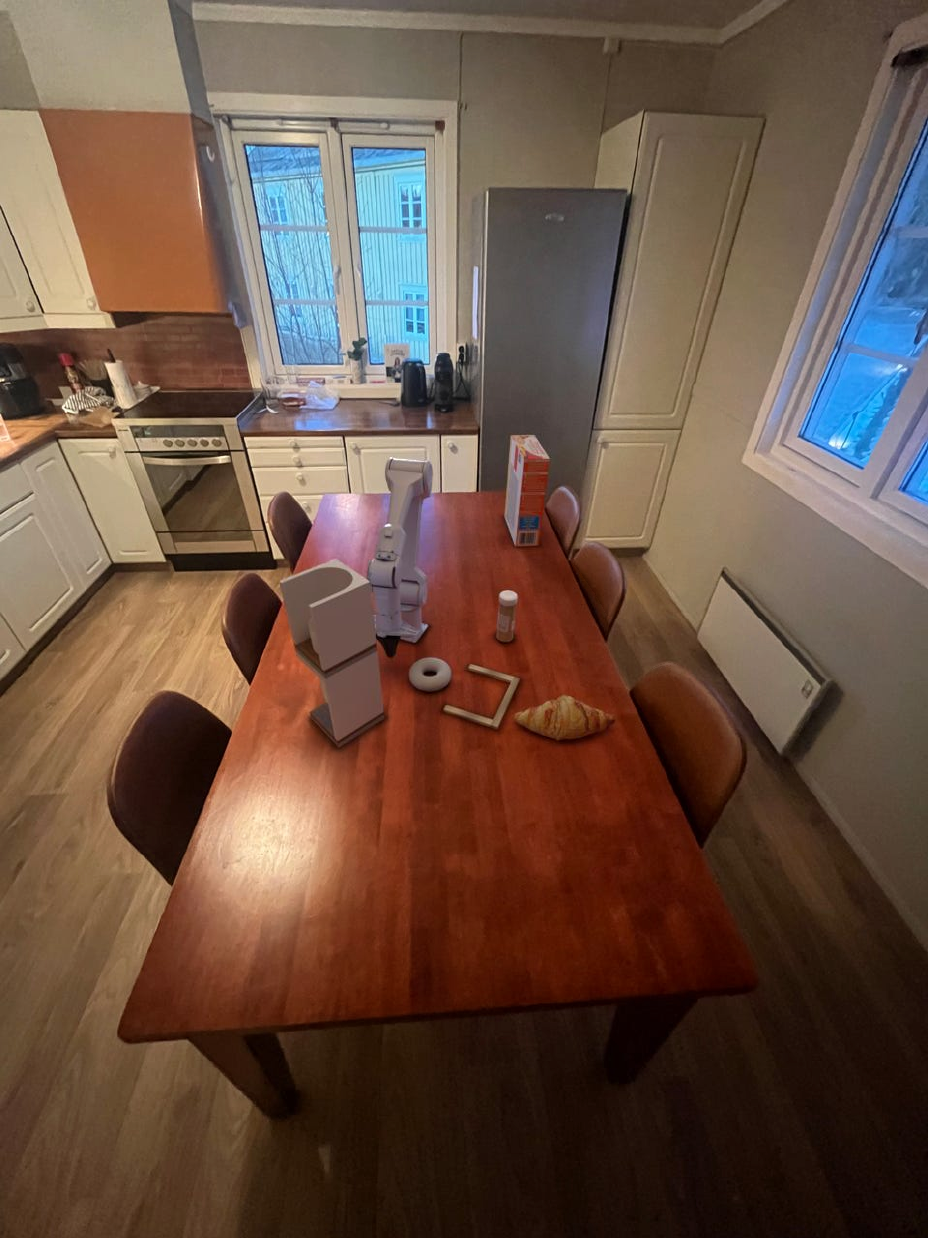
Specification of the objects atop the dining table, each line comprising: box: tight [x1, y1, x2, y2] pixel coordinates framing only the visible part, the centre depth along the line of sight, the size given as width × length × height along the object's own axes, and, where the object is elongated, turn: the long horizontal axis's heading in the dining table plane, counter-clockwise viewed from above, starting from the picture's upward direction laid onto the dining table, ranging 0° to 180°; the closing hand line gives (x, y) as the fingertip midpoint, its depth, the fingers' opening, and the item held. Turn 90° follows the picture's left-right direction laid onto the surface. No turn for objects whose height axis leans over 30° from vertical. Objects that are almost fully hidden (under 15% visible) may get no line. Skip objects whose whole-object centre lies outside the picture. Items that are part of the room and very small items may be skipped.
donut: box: [408, 657, 452, 692], centre depth 117 cm, size 10×4×10 cm
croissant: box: [514, 694, 616, 742], centre depth 106 cm, size 21×10×8 cm, turn 90°
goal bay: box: [442, 663, 521, 730], centre depth 114 cm, size 12×16×1 cm
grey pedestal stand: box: [278, 558, 385, 748], centre depth 97 cm, size 11×11×35 cm
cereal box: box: [503, 434, 551, 547], centre depth 170 cm, size 23×8×30 cm, turn 6°
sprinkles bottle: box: [495, 589, 519, 643], centre depth 127 cm, size 5×5×13 cm
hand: (391, 655), depth 118 cm, fingers closed
